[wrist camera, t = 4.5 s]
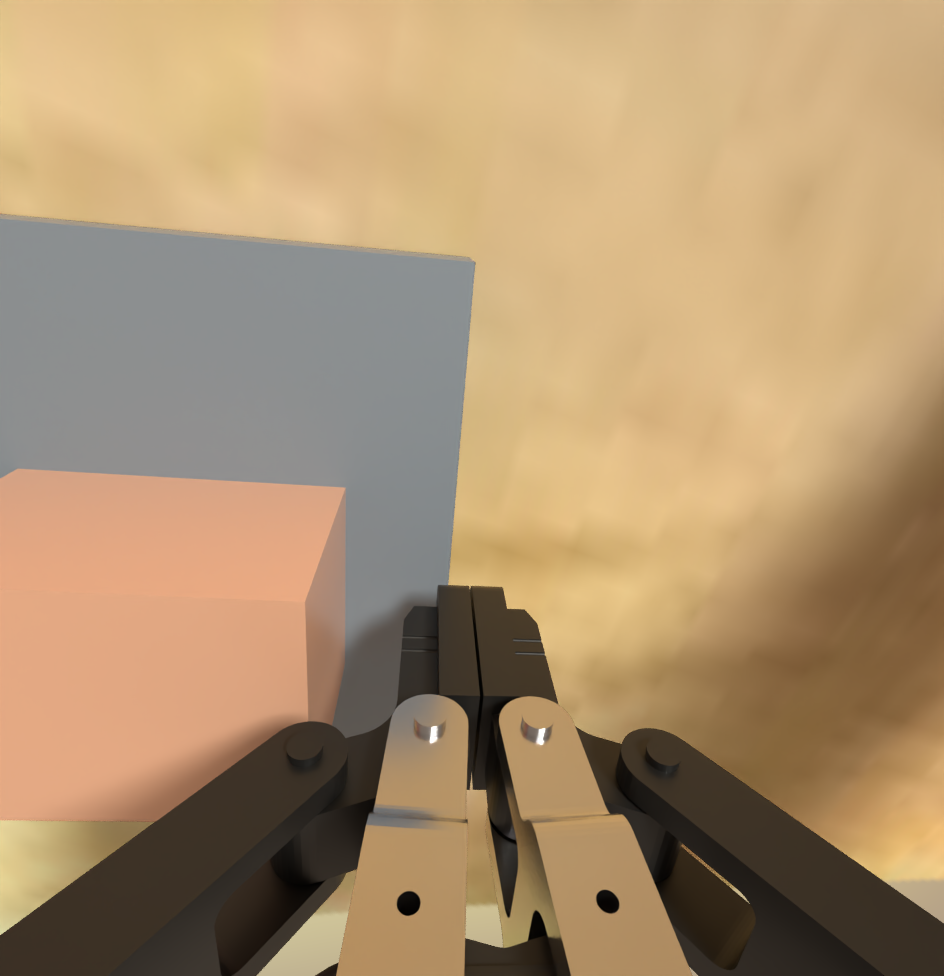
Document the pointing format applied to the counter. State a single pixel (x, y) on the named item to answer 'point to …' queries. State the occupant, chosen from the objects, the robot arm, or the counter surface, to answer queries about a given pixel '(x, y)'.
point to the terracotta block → (158, 634)
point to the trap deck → (252, 391)
